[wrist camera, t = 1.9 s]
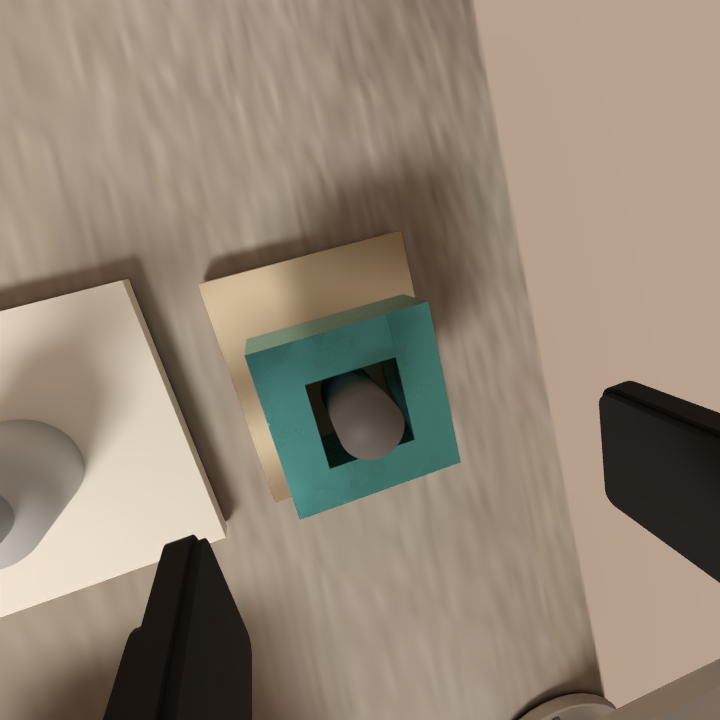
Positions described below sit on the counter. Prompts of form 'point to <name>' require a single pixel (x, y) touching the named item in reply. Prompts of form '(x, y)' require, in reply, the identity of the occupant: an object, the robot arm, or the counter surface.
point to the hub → (90, 448)
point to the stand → (305, 303)
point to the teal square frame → (340, 355)
